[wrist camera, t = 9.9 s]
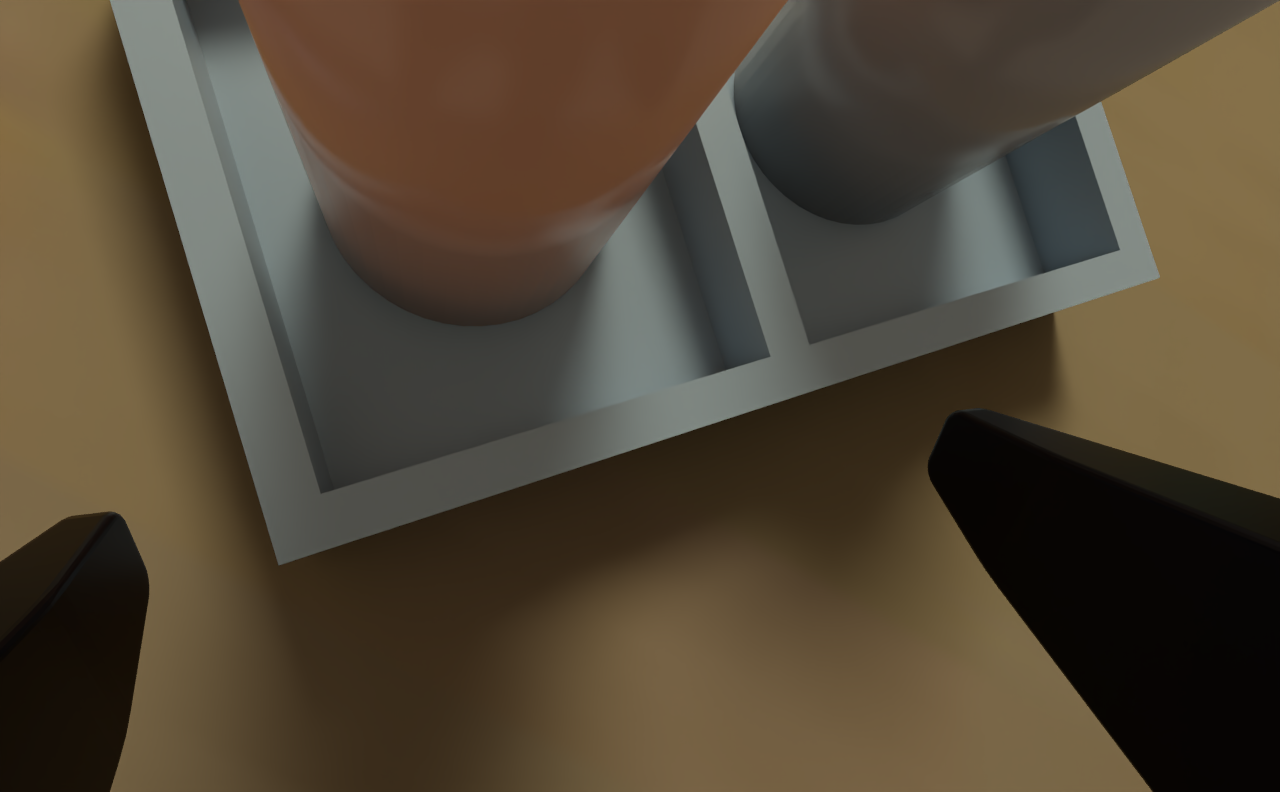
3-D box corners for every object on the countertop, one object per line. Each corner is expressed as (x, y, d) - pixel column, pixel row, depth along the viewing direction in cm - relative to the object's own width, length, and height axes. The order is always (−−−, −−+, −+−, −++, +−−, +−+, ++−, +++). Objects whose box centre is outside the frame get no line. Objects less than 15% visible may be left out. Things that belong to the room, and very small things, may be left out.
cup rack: (1054, 307, 23) (1159, 277, 20) (306, 550, 17) (278, 565, 14) (913, -120, 24) (993, -219, 21) (128, -42, 17) (59, -168, 14)
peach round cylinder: (584, 351, 18) (926, 67, 6) (288, 291, 17) (-130, -287, 4) (626, 96, 19) (995, -618, 7) (351, 16, 18) (167, -1118, 5)
